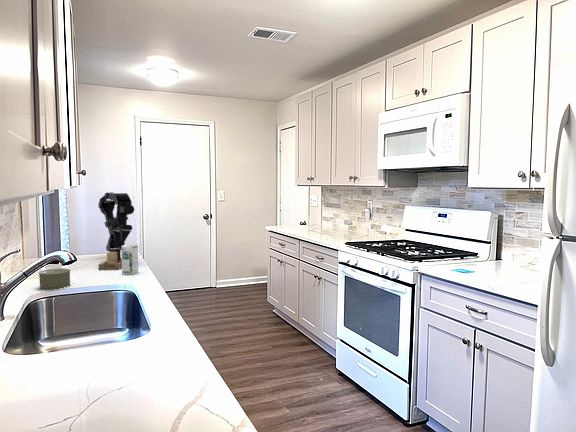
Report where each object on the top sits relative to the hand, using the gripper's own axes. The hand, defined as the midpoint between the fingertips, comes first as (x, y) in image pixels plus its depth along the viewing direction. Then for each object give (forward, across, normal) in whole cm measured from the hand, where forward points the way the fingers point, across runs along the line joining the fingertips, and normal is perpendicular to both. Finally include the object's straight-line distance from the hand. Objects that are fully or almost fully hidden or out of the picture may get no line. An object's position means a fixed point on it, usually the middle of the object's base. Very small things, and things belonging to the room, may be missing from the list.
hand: (119, 243), depth 226 cm
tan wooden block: (+14, +4, -4) cm, 15 cm away
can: (+21, +28, -36) cm, 50 cm away
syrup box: (+16, +23, -2) cm, 28 cm away
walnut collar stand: (+14, +4, -4) cm, 15 cm away
